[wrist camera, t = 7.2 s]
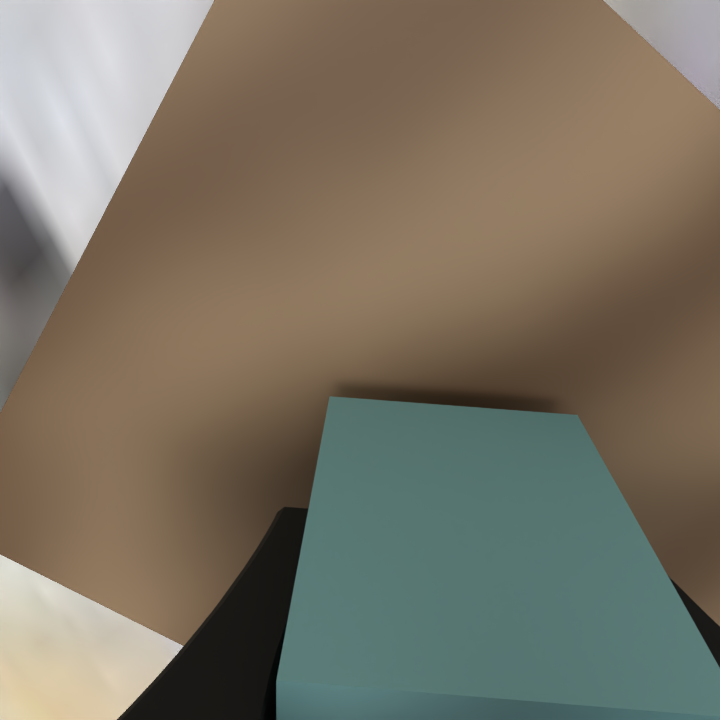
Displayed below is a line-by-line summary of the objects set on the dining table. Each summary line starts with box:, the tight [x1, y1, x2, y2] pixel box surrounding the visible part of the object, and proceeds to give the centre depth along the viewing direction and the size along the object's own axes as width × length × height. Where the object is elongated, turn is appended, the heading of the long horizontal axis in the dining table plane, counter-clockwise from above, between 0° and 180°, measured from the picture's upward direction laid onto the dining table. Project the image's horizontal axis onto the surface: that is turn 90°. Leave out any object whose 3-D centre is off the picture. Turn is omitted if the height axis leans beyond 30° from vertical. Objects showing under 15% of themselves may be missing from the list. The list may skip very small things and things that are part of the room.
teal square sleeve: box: [276, 396, 720, 720], centre depth 9 cm, size 4×4×6 cm
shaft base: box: [0, 0, 720, 646], centre depth 11 cm, size 16×16×6 cm
